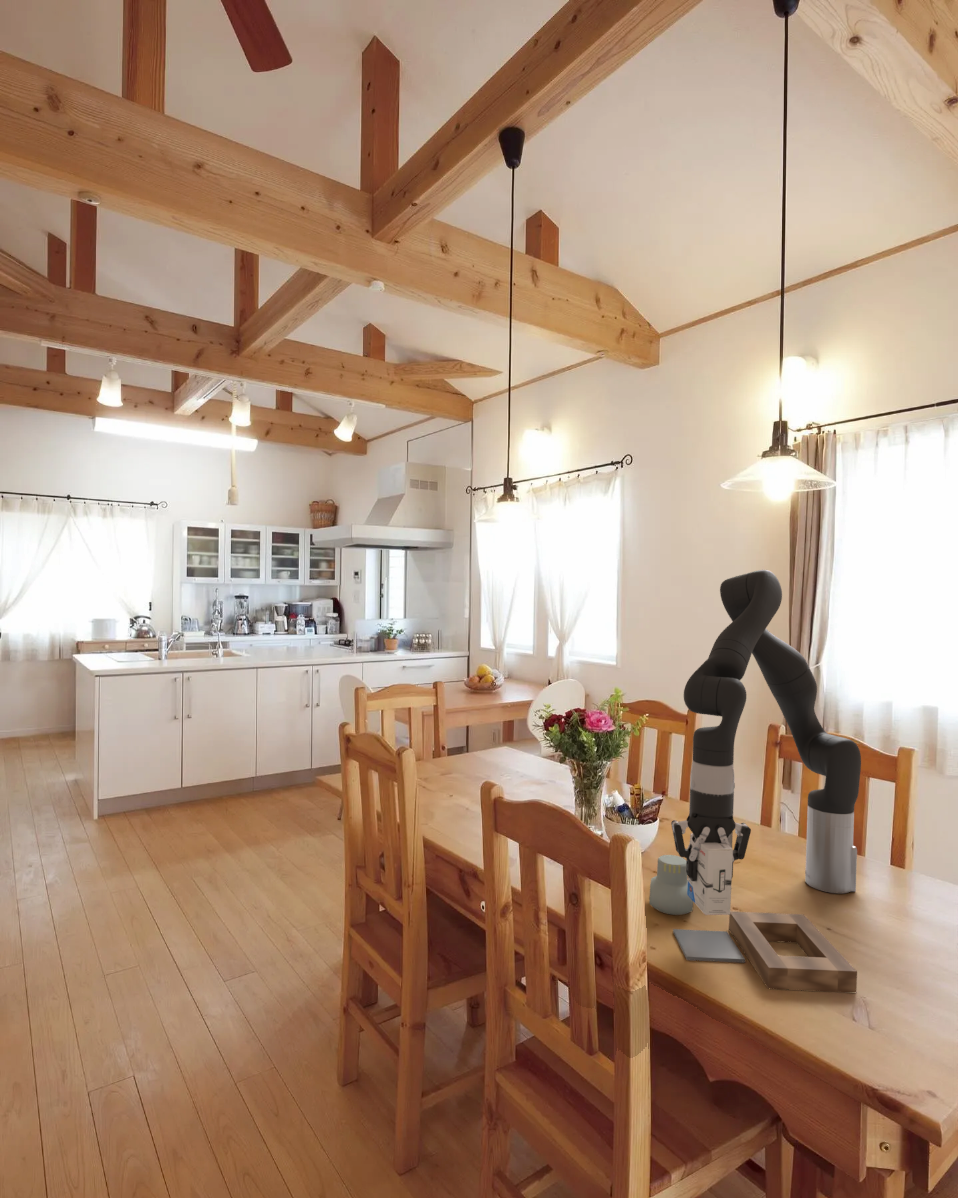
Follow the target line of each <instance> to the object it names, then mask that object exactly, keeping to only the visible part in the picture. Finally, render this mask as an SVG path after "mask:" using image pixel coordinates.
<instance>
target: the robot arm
mask: <svg viewBox="0 0 958 1198" xmlns="http://www.w3.org/2000/svg"><path fill="white" fill-rule="evenodd" d="M719 594H720V599H721V602H722V604H723V607H724V610H725V611H726V613H727V615H728V616H729V619H730V620H731V621H732V622H731V623H729V625H727V626H726V627H725V628H724V629H723V630H722V632H720V634H719V635H718V636H717V637H716V639H715V641H714V644H713V646H712V648H711V649H710V652H709V656H708V658H707V659H706V660H705V661H704V662H703V663H702V664H701V665H700V666H699V667H698V668H697V669H696V670H695V671H694V672H693V673H692V675H691V676H689V678H688V679H687V682H686V683H685V686H684V689H683V701H684V704H685V707H687V709H688V710H689V711H690V712H692V713H695V714H699V715H705V716H706V715H708V716H714V717H715V716H716V717H721V721H720V723H719V725H716V726H706V727H705V726H704V727H703V726H702V727H700V728H699V727H698V728H697V729H695V730H694V732H693V737H692V763H691V768H690V777H689V778H690V779H689V780H690V782H689V783H690V784H689V807H688V808H689V812H688V816H687V818H686V819H685V820H681V821H678V820H676V819H674V820H671V823H670V824H671V830H672V835H673V842H674V846H675V850H676V852H677V854H678V856H679V857H682V858H684V859H685V860H686V873H687V878H688V877H689V878H690V879H691V881H696V875H697V861H696V860H695V859H696V857H697V855H698V853H699V851H700V850H701V844H704V842H705V843H722V844H728V845H729V842H728V839H727V838H728V837H729V835H730V834H731V833H732V831H733V832H735V834H736V840H735V844H734V847H733V858H732V878H733V877H734V875H733V874H734V862H735V861H737V860H744V859H745V856H746V854H747V853H746V852H747V848H748V844H749V840H750V836H751V832H752V830H751V828H750V826H748V825H747V823H745V822H740V823H738V822H735V820H734V802H735V799H734V798H735V795H734V794H735V789H736V788H735V787H736V783H735V771H734V768H735V767H734V759H735V758H734V754H735V753H734V752H735V739H736V734H737V730H738V728H739V723H740V720H741V717H742V715H743V712H744V708H745V707H746V701H747V691H746V687H745V685H744V684H743V682H742V681H741V680H742V679H743V678H744V676H745V673H746V671H747V668H748V665H749V663H750V659H751V656H752V655H753V657H754V659H755V662H756V664H757V665H758V667H759V670H760V672H761V673H762V675H763V678H764V680H765V682H766V684H767V686H768V688H769V690H770V692H771V694H772V696H773V698H774V699H775V701H776V703H777V705H778V707H779V709H780V712H781V713H782V716H783V718H784V720H785V721H786V723H787V726H788V728H789V730H790V733H791V735H792V738H793V741H794V743H795V746H796V748H797V752H798V754H799V756H800V759H801V760H802V763H803V765H804V767H806V768H807V769H808V770H810V771H811V772H813V773H815V774H817V775H821V776H824V777H825V782H824V787H823V788H819V789H813V790H811V791H810V792H809V793H808V794H807V810H806V811H807V813H806V814H807V815H806V816H807V817H806V845H805V846H806V849H805V869H804V870H805V871H804V872H805V873H804V874H805V877H804V878H805V879H804V880H805V881H804V882H805V883H806V884H807V885H808V886H809V887H811V888H813V889H816V890H818V891H822V892H825V893H830V894H847V893H849V892H856V891H857V864H858V863H857V861H858V849H857V846H855V845H854V830H855V829H854V826H855V804H856V802H857V799H858V798H859V791H860V778H861V770H862V757H861V756H862V755H861V751H860V748H859V746H858V744H857V743H856V742H855V741H854V740H851V739H849V738H846V737H843V736H838V735H835V734H830V733H828V732H826V731H825V730H824V727H823V726H822V724H821V723H820V721H819V719H818V717H817V714H816V712H815V711H816V710H815V707H816V700H817V693H818V687H817V686H818V685H817V682H816V679H815V676H814V674H813V672H812V670H811V668H810V666H809V663H808V662H807V660H806V659H805V657H804V656H803V655H802V653H800V651H798V650H796V648H794V646H791V645H790V644H789V643H787V642H786V641H784V640H782V639H781V638H779V637H778V636H776V635H774V634H773V633H772V632H770V631H769V630H768V629H767V627H768V626H769V625H770V623H771V621H772V619H773V618H774V616H775V615H776V613H777V612H778V610H779V609H780V607H781V604H782V600H783V591H782V585H781V583H780V581H779V579H778V577H777V575H775V573H774V572H772V571H771V570H768V569H759V570H755V571H751V572H748V573H743V574H739V575H735V576H732V577H730V578H727V579H724V580H723V581H722V582H721V584H720V587H719ZM687 828H688V829H689V830H690V831H691V834H692V833H693V834H692V836H691V839H690V838H689V844H688V847H687V848H686V847H685V842H684V834H686V829H687ZM734 830H735V831H734ZM695 837H696V839H697V840H696V841H695ZM729 846H730V845H729Z"/></svg>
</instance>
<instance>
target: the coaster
mask: <svg viewBox="0 0 958 1198" xmlns="http://www.w3.org/2000/svg"><path fill="white" fill-rule="evenodd" d="M672 933H673V935H674V937H675V940H676V941H677V943H678V945H679V948H680V949H681V951H682V953H683V956H684V958H685V959H686V961H696V960H697V961H698V960H699V961H701V962H702V961H703V962H718V961H719V962H724V963H741V964H742V963H743V964H744V963H746V958H745V957H744V955H743V954H742V952H741V950H740V949H739V947H738V945H737V944H736V943H735V941H734V940H733V938H732V936H731V935H730V934H729V932H728V931H727V930H726V931H724V930H705V929H702V930H701V929H699V930H698V929H680V928H679V929H678V928H672ZM699 961H698V962H699Z"/></svg>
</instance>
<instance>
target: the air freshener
mask: <svg viewBox="0 0 958 1198" xmlns="http://www.w3.org/2000/svg"><path fill="white" fill-rule="evenodd" d="M686 860H687V859H686V858H685V857H680V855H674V854H663V855H661V856H659V857H658V858H657V866H656V867H657V868H656V870H657V871H656V875H655V876H653V877H651V878H650V885H649V901H648V902H649V905H650V906H651V907H652V908H653V909H655V910H657V911H659V912H660V913H662V914H666V915H670V916H671V915H672V916H673V915H674V916H681V915H682V916H683V915H685V914H689V913H691V912H693V910H694V902H693V901H692V899H691V898H690V897H689V896H688V895H687V890H688V875H687V873H686Z"/></svg>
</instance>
